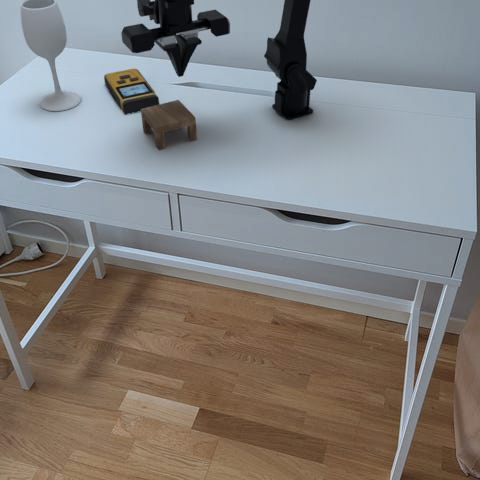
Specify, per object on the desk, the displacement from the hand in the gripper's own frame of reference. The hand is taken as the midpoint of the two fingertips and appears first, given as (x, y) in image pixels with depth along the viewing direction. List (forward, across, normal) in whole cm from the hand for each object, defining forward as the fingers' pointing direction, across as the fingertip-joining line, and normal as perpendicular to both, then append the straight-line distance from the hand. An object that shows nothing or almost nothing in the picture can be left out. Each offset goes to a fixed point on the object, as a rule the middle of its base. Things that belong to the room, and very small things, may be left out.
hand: (179, 75), depth 110 cm
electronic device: (+12, +4, -20) cm, 24 cm away
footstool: (+9, -1, 0) cm, 9 cm away
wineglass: (+12, +18, -24) cm, 33 cm away
